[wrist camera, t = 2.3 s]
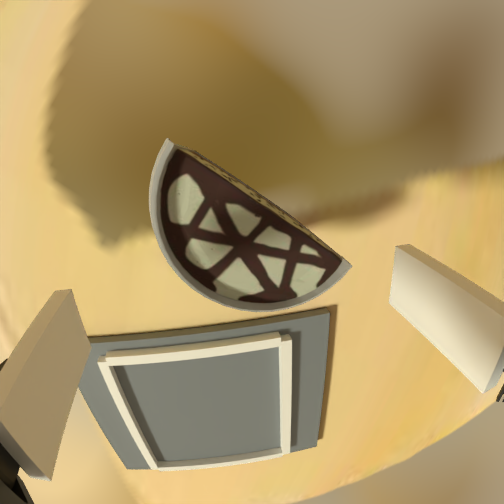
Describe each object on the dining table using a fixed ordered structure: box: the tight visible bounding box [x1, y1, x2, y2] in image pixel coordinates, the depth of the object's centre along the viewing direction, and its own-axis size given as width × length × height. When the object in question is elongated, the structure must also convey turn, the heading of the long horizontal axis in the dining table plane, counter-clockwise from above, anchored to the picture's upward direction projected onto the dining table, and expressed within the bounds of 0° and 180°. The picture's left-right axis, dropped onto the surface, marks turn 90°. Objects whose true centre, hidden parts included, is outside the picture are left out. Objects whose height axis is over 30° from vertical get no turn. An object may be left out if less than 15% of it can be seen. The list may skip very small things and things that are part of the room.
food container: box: [149, 138, 352, 312], centre depth 20 cm, size 12×6×10 cm, turn 54°
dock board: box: [78, 308, 330, 471], centre depth 31 cm, size 26×22×2 cm
